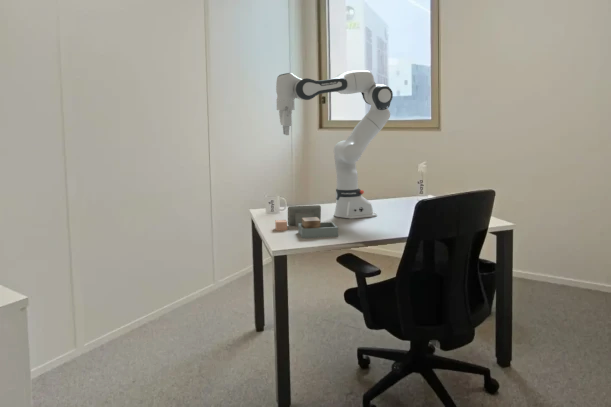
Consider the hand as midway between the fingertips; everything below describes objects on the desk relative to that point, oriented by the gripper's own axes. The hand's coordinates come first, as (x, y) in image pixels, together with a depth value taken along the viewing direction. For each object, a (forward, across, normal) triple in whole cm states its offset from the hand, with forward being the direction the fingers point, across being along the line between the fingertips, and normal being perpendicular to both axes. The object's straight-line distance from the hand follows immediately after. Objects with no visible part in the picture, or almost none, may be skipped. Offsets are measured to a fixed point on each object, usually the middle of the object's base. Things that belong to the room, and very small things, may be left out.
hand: (286, 134), depth 283 cm
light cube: (+44, -25, +6) cm, 51 cm away
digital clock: (+44, -17, -6) cm, 47 cm away
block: (+42, -39, -6) cm, 58 cm away
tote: (+43, -39, -10) cm, 59 cm away
